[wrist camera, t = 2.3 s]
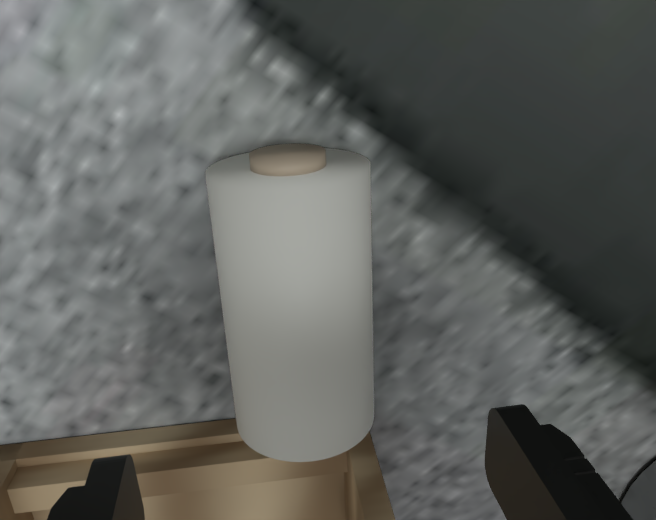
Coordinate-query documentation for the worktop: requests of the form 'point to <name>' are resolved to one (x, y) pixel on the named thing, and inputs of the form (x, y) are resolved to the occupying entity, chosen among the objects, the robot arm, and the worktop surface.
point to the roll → (296, 296)
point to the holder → (198, 476)
